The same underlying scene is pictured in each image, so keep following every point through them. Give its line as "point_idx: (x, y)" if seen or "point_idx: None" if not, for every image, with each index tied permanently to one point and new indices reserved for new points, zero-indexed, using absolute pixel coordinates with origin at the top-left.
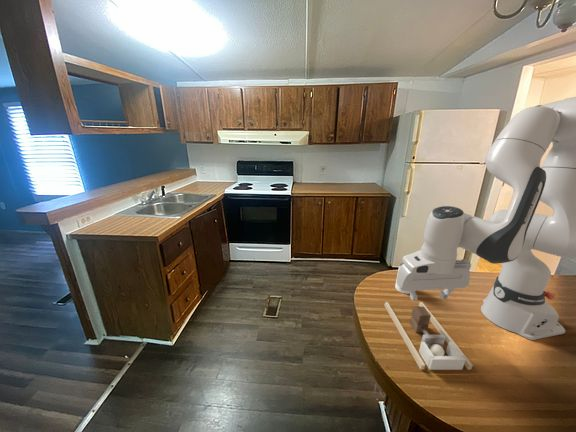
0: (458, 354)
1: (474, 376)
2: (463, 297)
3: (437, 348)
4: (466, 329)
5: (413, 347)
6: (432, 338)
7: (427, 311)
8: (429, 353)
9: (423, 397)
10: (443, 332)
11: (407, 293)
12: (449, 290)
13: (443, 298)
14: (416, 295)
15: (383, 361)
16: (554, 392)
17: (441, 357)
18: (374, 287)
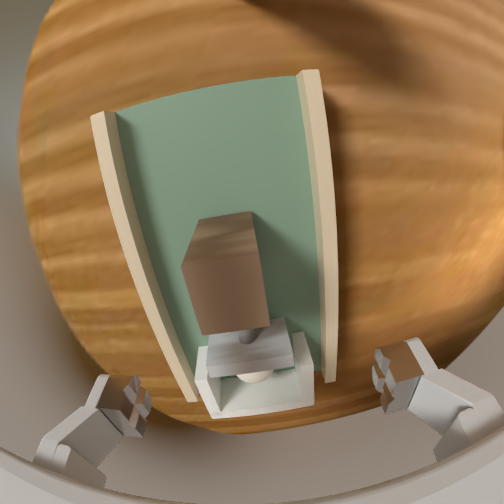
0: (302, 397)
1: None
2: (487, 41)
3: (248, 381)
4: (431, 198)
5: (175, 362)
6: (240, 372)
7: (263, 298)
8: (209, 408)
9: (187, 413)
10: (324, 283)
11: None
12: (434, 451)
13: (378, 383)
14: (132, 430)
15: (105, 359)
16: (454, 348)
17: (242, 412)
18: None
